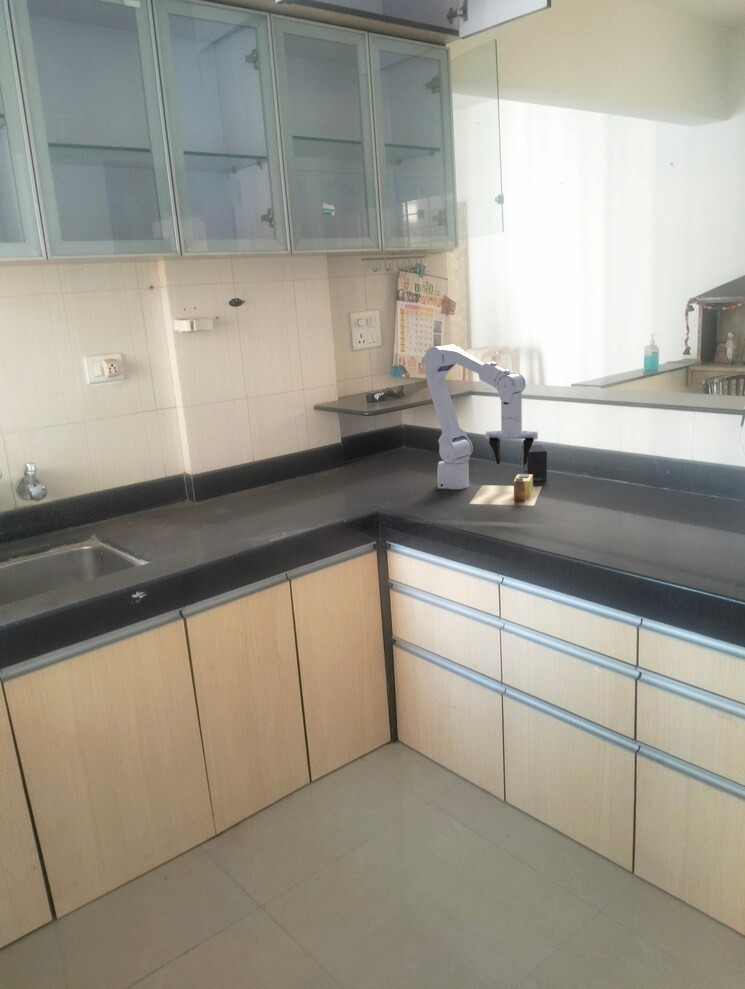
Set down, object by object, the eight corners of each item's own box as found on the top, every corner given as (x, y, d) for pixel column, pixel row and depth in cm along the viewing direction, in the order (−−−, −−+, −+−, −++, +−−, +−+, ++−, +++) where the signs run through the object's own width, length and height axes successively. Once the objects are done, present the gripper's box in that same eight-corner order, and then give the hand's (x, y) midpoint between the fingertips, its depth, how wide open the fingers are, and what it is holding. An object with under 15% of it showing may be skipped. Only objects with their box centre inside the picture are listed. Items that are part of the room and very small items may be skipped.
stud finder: (513, 495, 218) (513, 479, 217) (517, 488, 225) (517, 473, 224) (529, 496, 217) (529, 480, 215) (532, 489, 224) (532, 473, 223)
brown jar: (513, 502, 212) (513, 479, 210) (514, 499, 215) (514, 477, 213) (524, 502, 211) (524, 479, 209) (525, 499, 214) (525, 477, 212)
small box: (548, 483, 233) (548, 450, 231) (527, 485, 233) (526, 451, 231) (541, 475, 243) (541, 443, 241) (521, 477, 244) (520, 445, 241)
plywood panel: (469, 507, 213) (469, 503, 213) (482, 488, 232) (482, 485, 232) (534, 509, 208) (533, 505, 207) (541, 489, 227) (541, 486, 227)
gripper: (483, 419, 213) (484, 466, 216) (535, 419, 208) (535, 467, 211) (487, 415, 219) (488, 460, 223) (538, 414, 214) (538, 461, 218)
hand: (511, 463), depth 217 cm, fingers open, 7 cm apart
